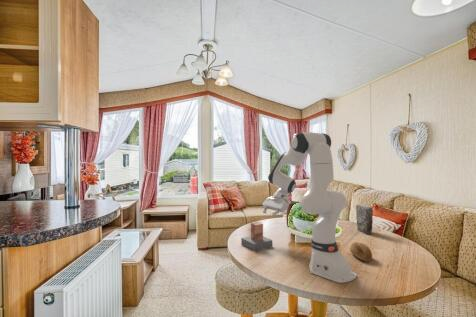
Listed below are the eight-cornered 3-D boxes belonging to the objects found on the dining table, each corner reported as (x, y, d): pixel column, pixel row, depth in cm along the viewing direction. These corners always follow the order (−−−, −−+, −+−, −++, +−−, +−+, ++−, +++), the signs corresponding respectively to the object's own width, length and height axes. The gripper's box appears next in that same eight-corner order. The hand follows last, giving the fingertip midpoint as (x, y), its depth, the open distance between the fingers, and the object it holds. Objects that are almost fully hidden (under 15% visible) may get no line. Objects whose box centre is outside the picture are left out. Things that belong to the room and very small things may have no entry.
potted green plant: (298, 224, 211) (299, 200, 211) (301, 227, 203) (301, 202, 203) (285, 224, 211) (285, 200, 211) (287, 227, 204) (287, 202, 203)
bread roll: (359, 263, 135) (359, 248, 135) (346, 252, 150) (346, 239, 150) (376, 263, 135) (376, 248, 135) (361, 252, 150) (362, 239, 150)
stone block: (354, 229, 197) (354, 204, 197) (362, 229, 198) (362, 203, 198) (366, 234, 184) (366, 207, 184) (374, 234, 185) (374, 207, 185)
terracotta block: (262, 239, 161) (262, 223, 161) (256, 241, 158) (256, 225, 158) (257, 237, 165) (257, 221, 165) (250, 238, 162) (250, 223, 162)
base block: (272, 246, 159) (272, 240, 159) (254, 251, 152) (254, 244, 152) (258, 240, 171) (258, 234, 171) (241, 244, 163) (241, 238, 163)
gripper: (267, 193, 179) (256, 208, 174) (287, 196, 162) (276, 214, 157) (271, 198, 182) (261, 214, 177) (292, 203, 165) (281, 220, 159)
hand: (268, 214), depth 167 cm, fingers open, 8 cm apart
